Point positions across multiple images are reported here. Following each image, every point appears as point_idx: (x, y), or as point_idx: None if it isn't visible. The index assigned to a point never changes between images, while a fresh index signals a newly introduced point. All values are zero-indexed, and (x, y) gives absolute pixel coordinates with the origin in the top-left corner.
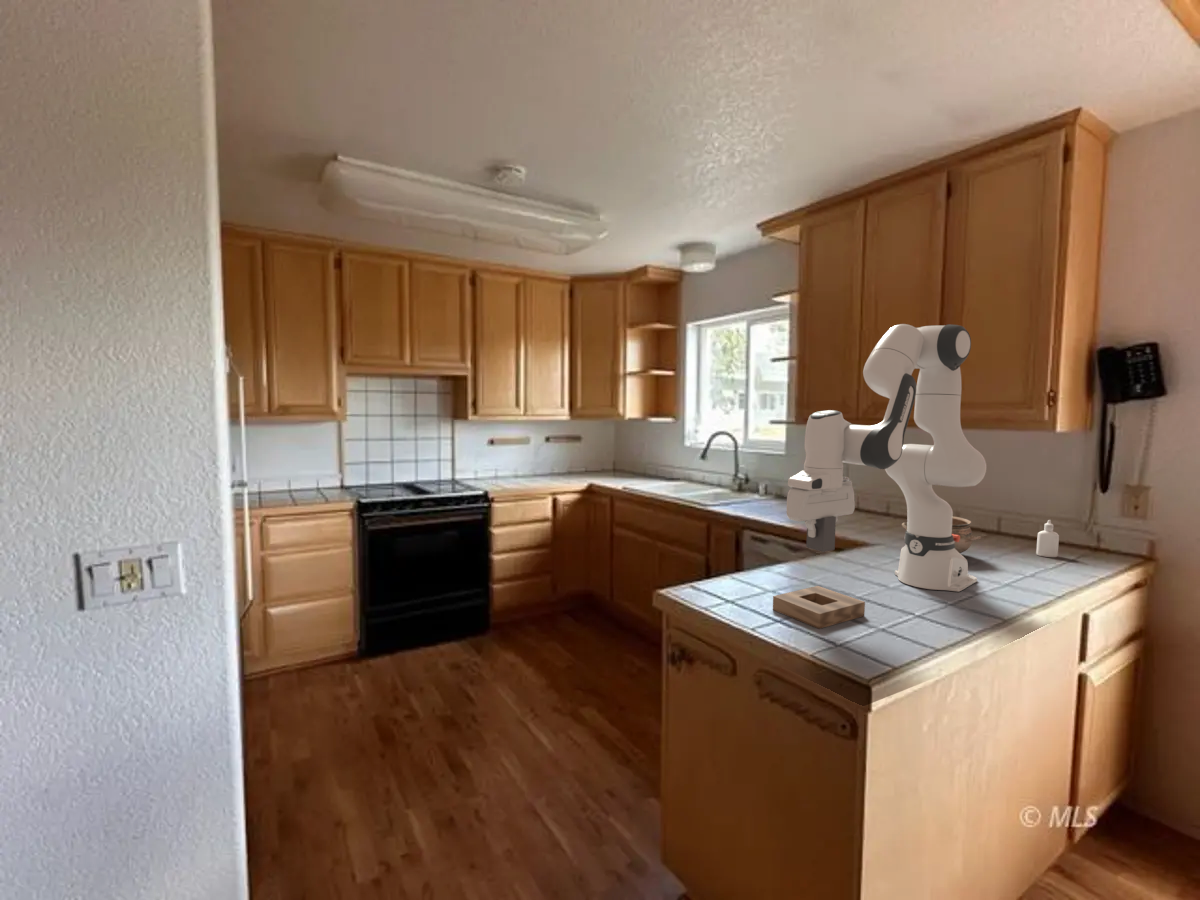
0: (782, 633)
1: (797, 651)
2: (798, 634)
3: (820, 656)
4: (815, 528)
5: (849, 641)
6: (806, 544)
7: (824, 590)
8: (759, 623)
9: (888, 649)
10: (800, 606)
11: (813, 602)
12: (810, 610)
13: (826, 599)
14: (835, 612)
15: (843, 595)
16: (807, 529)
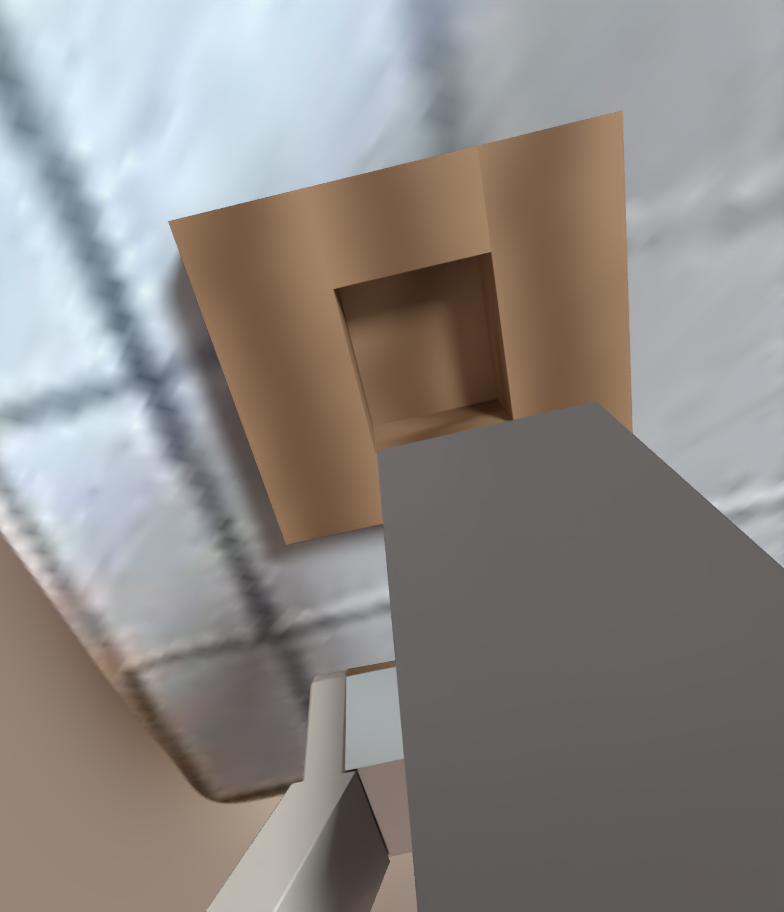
0: (105, 504)
1: (93, 643)
2: (172, 529)
3: (157, 685)
4: (372, 904)
5: (336, 621)
6: (380, 465)
7: (584, 227)
8: (35, 377)
9: None
10: (249, 436)
11: (360, 403)
12: (270, 497)
13: (499, 337)
14: None
15: (615, 351)
16: (395, 629)
